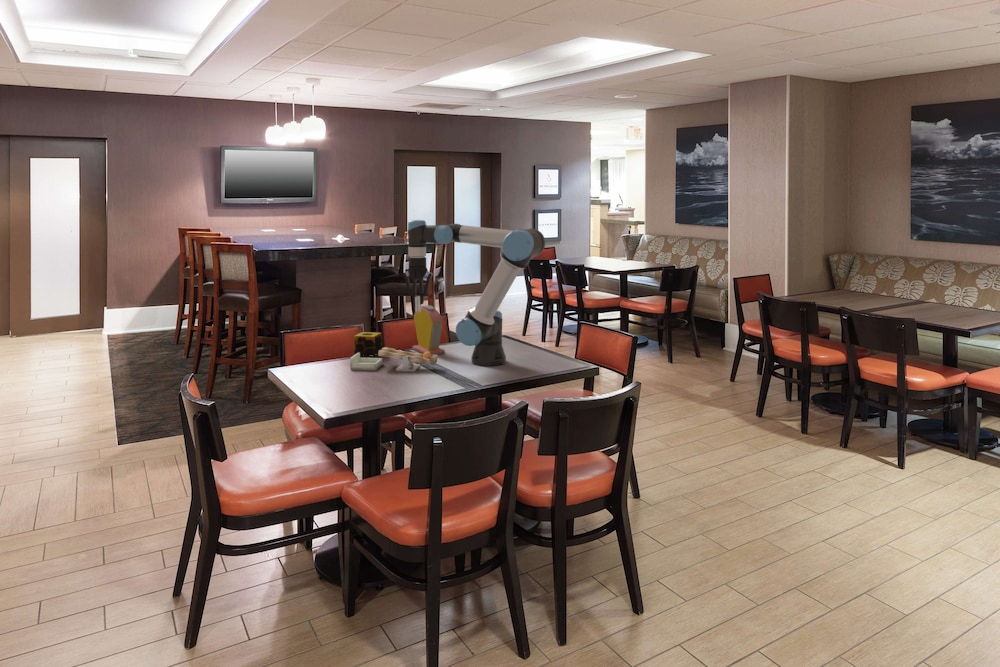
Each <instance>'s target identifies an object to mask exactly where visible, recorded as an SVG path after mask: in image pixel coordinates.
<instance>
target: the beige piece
mask: <svg viewBox="0 0 1000 667" xmlns="http://www.w3.org/2000/svg"><path fill="white" fill-rule="evenodd" d="M411 352H412V351H404V350H397V349H396V348H393V347H386V346H385V347H382V349H381V350H379V352H378V357H384V358H388V359H389V358H391V359H396V360H397V359H398V360H401V361H403V359H402V356H409V361H413V363H418V364H426V365H431V366H435V364H436V363H437V362H438V357H439V354H438V355H435V354H433V355H432V356H431V357H430V359H427V358H423V353H416V352H413V353H411Z"/></svg>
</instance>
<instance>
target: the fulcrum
mask: <svg viewBox="0 0 1000 667" xmlns="http://www.w3.org/2000/svg"><path fill="white" fill-rule="evenodd" d="M410 352H411V353H414V352H413V351H410ZM402 359H403V360H402V363H400V365H399V366H398V367H396V368H395V371H396V372H413V373H414V372H416V371H417V370H418V369H419V368H420V367H421V363H414V362H413V361H409V356H402Z"/></svg>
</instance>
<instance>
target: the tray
mask: <svg viewBox="0 0 1000 667" xmlns="http://www.w3.org/2000/svg"><path fill="white" fill-rule="evenodd" d="M383 361H384V359H383V358H382V357H376V358H360V353H357V354H353V355H352V356H350V357H349V364H350V365H349V366H350V368H349V369H350V371H351V370H353V371H354V370H355V371H377V370H378V369H379V368H381V367H382V366H383V365H384V362H383Z"/></svg>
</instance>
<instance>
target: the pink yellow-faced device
mask: <svg viewBox="0 0 1000 667" xmlns="http://www.w3.org/2000/svg"><path fill="white" fill-rule="evenodd" d="M421 308H422V311H421V312H415V311H414V314H413V321H414V324H415V325H414V326H415V332H416V333H415V334H416V340H417V343H418V344H417V345H416V344H415V345H412V346H411V348H412V350H414V351H416V352H418V353H419V354H424V353H425V352H430V353H431V355H433V354H435V355H438V356H439V355H444V354H445V353H446V351H445V349H443V348H440V342H441V335H442V330H443V325H444V319H443V318H442V315H441V314H440V312H439V311H438V310H437V309H436V308H435V307H434V306H433V305H421Z"/></svg>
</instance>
